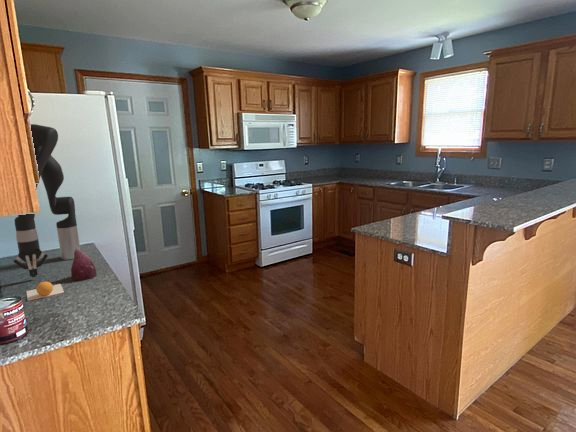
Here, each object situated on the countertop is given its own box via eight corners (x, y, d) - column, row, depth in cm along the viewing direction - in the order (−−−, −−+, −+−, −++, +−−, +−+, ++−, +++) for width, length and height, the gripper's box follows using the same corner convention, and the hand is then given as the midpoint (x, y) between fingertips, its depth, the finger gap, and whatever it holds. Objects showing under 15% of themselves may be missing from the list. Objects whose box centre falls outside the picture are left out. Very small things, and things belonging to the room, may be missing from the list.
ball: (38, 289, 134) (39, 300, 137) (54, 285, 138) (55, 295, 141) (34, 281, 137) (34, 291, 140) (50, 277, 141) (50, 287, 144)
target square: (26, 291, 143) (26, 291, 143) (60, 284, 151) (60, 283, 151) (27, 300, 134) (27, 300, 134) (64, 292, 141) (64, 292, 141)
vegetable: (69, 285, 158) (55, 255, 155) (90, 275, 167) (77, 246, 164) (81, 283, 152) (67, 252, 150) (102, 273, 161) (89, 243, 159)
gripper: (45, 235, 160) (50, 271, 164) (8, 240, 152) (15, 278, 156) (46, 238, 155) (52, 275, 158) (8, 243, 147) (15, 282, 150)
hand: (33, 276), depth 157 cm, fingers closed
